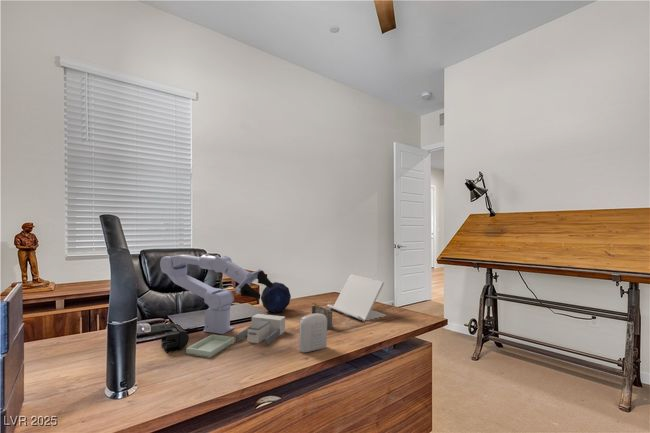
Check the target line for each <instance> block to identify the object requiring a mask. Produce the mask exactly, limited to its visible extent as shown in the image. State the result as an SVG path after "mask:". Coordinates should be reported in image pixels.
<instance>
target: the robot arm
mask: <svg viewBox="0 0 650 433" xmlns="http://www.w3.org/2000/svg"><path fill="white" fill-rule="evenodd" d="M188 265H195V266H196V265H197V266H198V267H199V268H200V269H202V270H203V269H204V270H211V271H214V272H215V273H222V274H223V275H225V276H226V277H228V278H230V279H231V280H232V281H234V282H236V283H238V285H237V286H236V287H235V288H234V292H235V293H236V294H237V295H240V296H241V297H243V298H244V297H248V298H254V299H257V300H261V293H260V292H258V291H257V290H256V289H253V288H252V287H251V286H250V285H251V284H252V283H253V282H254V281H255V280H257V284H262V285H264V286H265V287H266V286H267V287H269V288H272V286H273V283H274V282H271V280H270V279H269V278H268V277H267V275H266V274H265V272H264V270H263V269H260V268H259V269H257V270H256V271H255V270H254V271H253V272H251V271H248V270H247V269H245V268H243V267H241V266H239V265H238V264H237V263H235V262H233V261H232V259H231V257H229V256H227V255H223V256H220V255H219V254H217V255H210V253H205V254H203V255H201V256H197V255H189V254H178V255H169V256H165V255H164V256H163V257H161V258H160V261H159V266H160V270H161V273H163V274H166V275H167V277H168V278H169V279H170V280H171V281H172V283H174V284H175V285H177V286H179V287H181V288H182V289H184V290H187V291H188V292H191V293H192V294H195V295H197V296H198V297H201V298H202V299H204V304H206V305H207V306H208V308H207V309H206V310H205V314H204V329H203V332H205V333H211V334H218V335H219V334H220V335H224V334H226V333H227V332H230V331H231V330H233V329H234V328H235V327H234V326H230V325H231V324H230V323H231V308H232V307H231V306H232V304H233V302H234V300H235V297H234V296H235V294H234V293H233V292H232V291H231V289H223V288H220V287H219V288H218V287H213V286H211V285H210V284H207V283H204V282H203V281H201V280H198V279H197V278H194V277H192V276H190V275H189V274H188Z"/></svg>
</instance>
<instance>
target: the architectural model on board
mask: <svg viewBox="0 0 650 433" xmlns="http://www.w3.org/2000/svg"><path fill="white" fill-rule="evenodd" d="M311 304H312V306H311V314H315V313H319V314H323V315H325V316H326V318H327V330H331V329H333V310H330V309H327V308H325V307H322V306H319V304H317V303H316V302H313V301H311Z"/></svg>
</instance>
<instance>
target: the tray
mask: <svg viewBox="0 0 650 433" xmlns="http://www.w3.org/2000/svg"><path fill="white" fill-rule="evenodd" d="M234 343H235V337H234V336H227V335H222V334H220V335H219V334H215V333H211V334H210V335H209V336H206V337H205V338H203V339H201V340H199V341H196V342H195V343H193V344H192V345H189V346H188V347H186V348H185V350H186V351H185V355H190V356H196V357H202V358H208V359H211V358H212V357H214V356H216V355H217V354H219V353H221V352H222V351H224V350H225V349H227V348H228V347H230V346H231V345H233V344H234Z"/></svg>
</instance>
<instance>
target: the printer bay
mask: <svg viewBox="0 0 650 433" xmlns="http://www.w3.org/2000/svg"><path fill="white" fill-rule="evenodd" d="M259 320H261V321H270V328H269V336H268V337H266V338H265V339H264V346H266V347H267V346H268V345H270V344H271V343H272V342H274V341H275V340H276V339H277V338H278V337H280V336H281V335H283V334H284V333H285V331H286V316H283V315H282V316H281V315H275V314H263V313H256V314H255V315H253V316H251V324H250V326H251V325H252V324H254V323H256V322H257V321H259ZM246 337H248V329H247V328H245V329H243V330H242V331H240V332H238V333H237V334H236V336H235V342H236V343H237V342H240V341H242V340H243V339H245V338H246Z"/></svg>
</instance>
